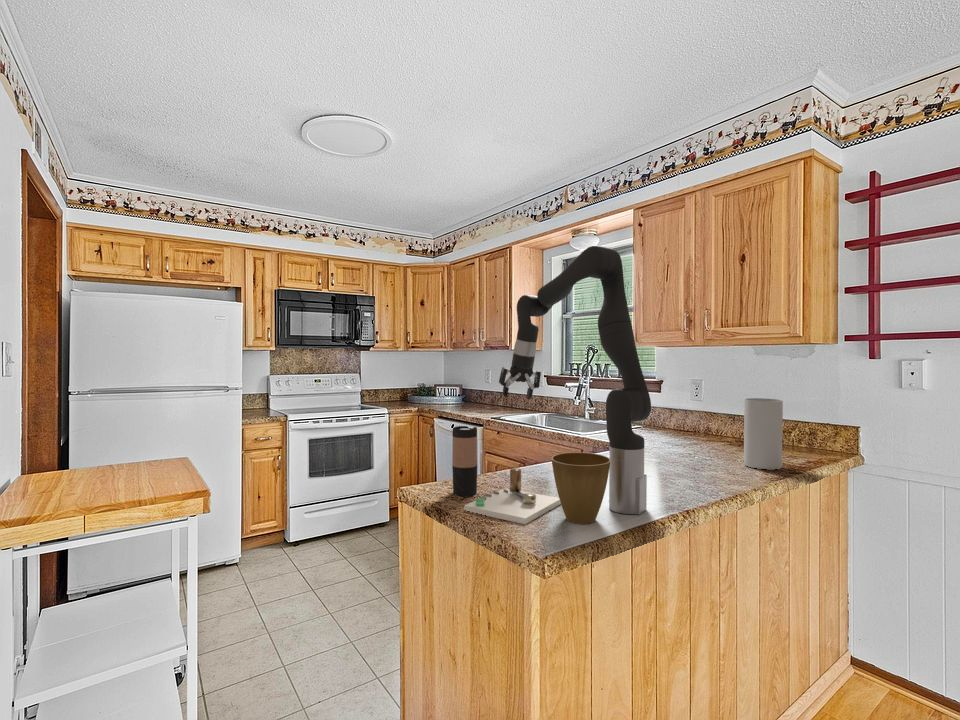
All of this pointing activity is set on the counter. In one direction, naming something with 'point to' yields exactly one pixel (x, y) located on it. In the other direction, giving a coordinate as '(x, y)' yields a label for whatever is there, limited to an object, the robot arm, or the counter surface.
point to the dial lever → (516, 487)
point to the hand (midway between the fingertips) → (516, 397)
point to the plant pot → (580, 484)
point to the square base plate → (512, 506)
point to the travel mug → (464, 460)
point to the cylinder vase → (763, 433)
